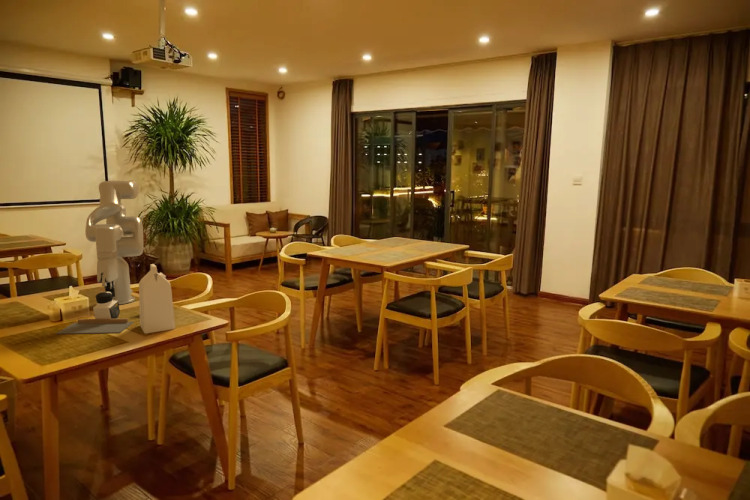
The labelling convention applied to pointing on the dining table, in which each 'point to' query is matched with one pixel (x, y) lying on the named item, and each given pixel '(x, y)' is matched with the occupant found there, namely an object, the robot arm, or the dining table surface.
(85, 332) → the tipping mat
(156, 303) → the milk
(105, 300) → the medicine bottle
